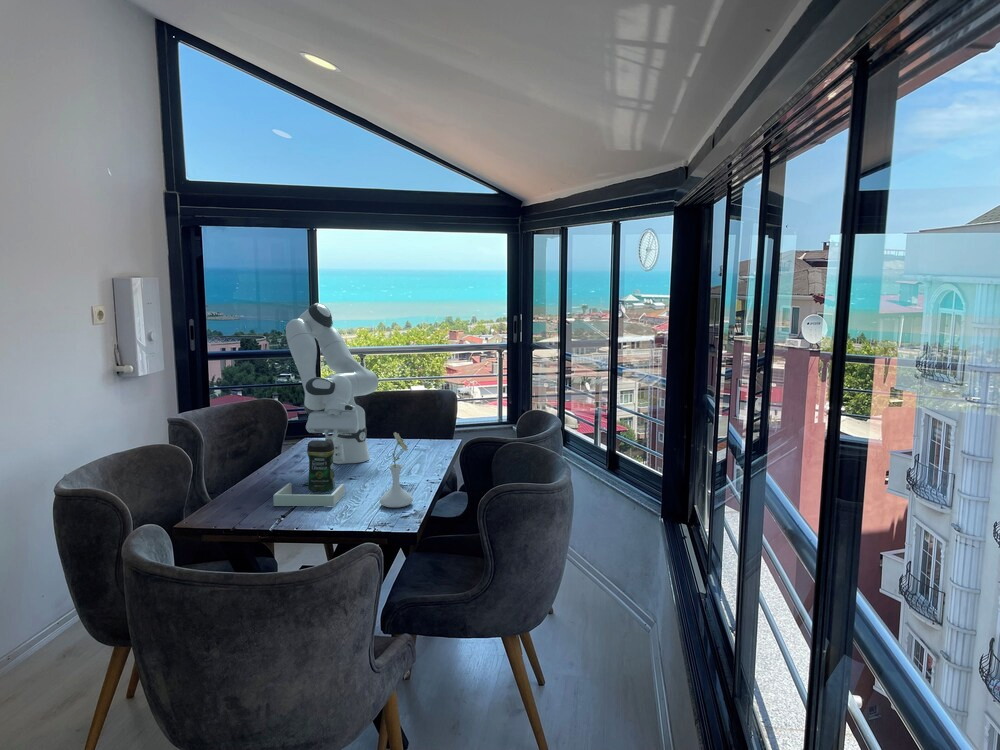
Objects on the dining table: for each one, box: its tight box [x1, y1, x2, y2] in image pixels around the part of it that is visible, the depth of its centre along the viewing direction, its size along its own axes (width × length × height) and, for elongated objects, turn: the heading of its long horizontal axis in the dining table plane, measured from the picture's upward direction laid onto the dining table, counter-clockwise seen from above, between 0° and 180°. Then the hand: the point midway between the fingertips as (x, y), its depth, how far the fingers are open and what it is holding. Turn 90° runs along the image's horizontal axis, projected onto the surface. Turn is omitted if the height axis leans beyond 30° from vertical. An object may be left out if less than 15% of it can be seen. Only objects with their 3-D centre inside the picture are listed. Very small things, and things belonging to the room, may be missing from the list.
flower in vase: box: [379, 431, 414, 509], centre depth 223 cm, size 13×11×25 cm
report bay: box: [272, 482, 346, 508], centre depth 229 cm, size 14×20×4 cm
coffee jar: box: [306, 439, 336, 492], centre depth 242 cm, size 10×8×19 cm
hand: (329, 441), depth 251 cm, fingers closed
